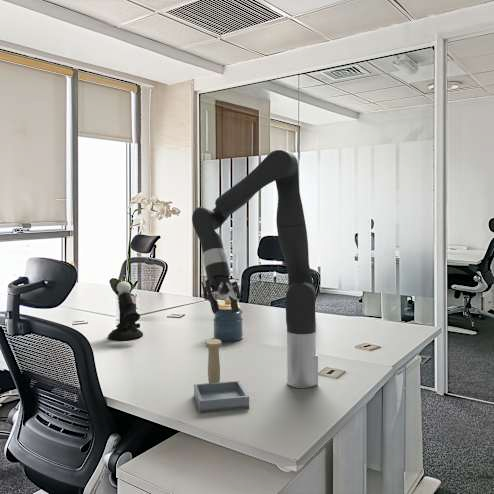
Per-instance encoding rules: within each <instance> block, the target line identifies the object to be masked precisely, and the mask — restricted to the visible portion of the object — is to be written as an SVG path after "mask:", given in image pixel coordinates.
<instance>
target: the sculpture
mask: <svg viewBox="0 0 494 494" xmlns="http://www.w3.org/2000/svg"><path fill="white" fill-rule="evenodd" d="M131 289H132V285H131V284H130V283H129V282H128V281H126V280H125V281H124V280H123V281H120V282H118V284H117V285H116V291H117V292H118V293H117V294H118V295H117V303H118V310H119V323H118V324H117V325H116V326H115V327H116V328H115V329H113V330H112V331H110V333H108V336H107V338H108V340H110V341H115V342H125V341H135V340H137V339H141V338H143V336H144V332H142V331H141V330H140V329H139V328H140V327H141V323H139V322H138V321H139V320H140V318H141V315H140V313H139V312H137V304H136V303H134V302H133V299H132V292H131ZM136 322H138V323H136Z"/></svg>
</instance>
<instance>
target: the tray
mask: <svg viewBox="0 0 494 494" xmlns="http://www.w3.org/2000/svg"><path fill="white" fill-rule="evenodd" d="M193 397H194V400H195V403H196V405H197V408H198V412H199V414H208V413H217V412H218V413H221V412H228V411H238V410H239V411H240V410H249V409H250V396H249V394H248V392H247V391H246V389H245V388H244V386H243V384H242V382H241V381H240V380H231V381H220V382H216V383H209V382H207V383H195V384H193Z"/></svg>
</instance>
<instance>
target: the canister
mask: <svg viewBox="0 0 494 494" xmlns="http://www.w3.org/2000/svg"><path fill="white" fill-rule="evenodd" d="M230 303H231V302H230V301H229V299H228V298H226V299H225V300H224V302H218V306H219V312H218V313H213V315H214V317H213V339H219V340H221V342H226V343H227V342H236V341H237V342H238V341H241V340H242V339H243V336H244V332H243V326H244V325H243V320H244V319H243V317H242V314H243V313H244V311H243V310H242V309H241V308H242V306H241V305H240V304H238V309H239V310H238V312H237V313H232V309H231V304H230Z"/></svg>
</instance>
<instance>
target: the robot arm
mask: <svg viewBox="0 0 494 494" xmlns="http://www.w3.org/2000/svg"><path fill="white" fill-rule="evenodd" d="M299 176H300V174H299V161H298V159H297V157H296V155H295V154H293V152H291V151H289V150H285V149H280V148H279V149H274V150H272V151H270V153H269V154H268V155H267V156H266V157H265V158H263V160H262V161H261V162H260V163H258V164H257V166H256V167H255V168H254V169H253V170H252V171H251V172H249V173H248V174H247V175H246V176H245V177H243V178H242V179H241V180H240V181H238V182H237V183H236V184H235V185H233V186H231V188H229V189H227V190H226V191H225V192H224V193H222V194H221V195H220V196H218V197H217V198H216V200H215V202H214V204H215V207H214V208H213V209H209V208H208V207H205V206H199V207H196V208H195V209H194V210H193V213H192V214H191V222H192V227H193V228H194V232H195V233H196V235H197V238H198V240H199V242H200V246H201V250H202V257H203V264H204V270H205V274H206V280H204V281H202V282H201V286H202V287H201V288H202V292H203V293H202V294H203V299H204V300H205V301H208V302H209V303H210V307H211V311H212V314H214V313H218V312H219V306H218V304H219V302H218V300H217V298H218V296H224V297H225V298H226V299H229V301H230V302H231V303H230V304H231V309H232V313H237V312H238V310H239V309H238V305H239V304H238V300H241V298H242V295H241V292H240V288H239V284H238V282H237V281H233V282H232V281H230V276H231V274H230V269H229V268H230V267H229V262H228V259H227V255H226V252H225V249H224V244H223V241H222V237H221V235H220V234H219V233H218V232H216V230H217V229H219V228H221V226H222V225H223V224H225V222H226V221H227V220H228V219H229V217H230V216H231V215H232V214H234V213H235V212H236V211H239V209H241V208H243V206H245V205H246V204H247V203H248V202H250V200H251V199H252V198H253V197H254V196H255V195H256V194H257V193H258V192H259V191H260V190H261V189H264V188H265V187H267V185H270V184H271V183H273V182H275V186H276V189H277V208H276V209H277V210H276V222H275V223H276V229H277V230H276V231H277V236H278V237H277V238H278V243H279V247H280V250H281V253H282V255H283V259H284V262H285V265H286V269H287V270H286V271H287V280H288V281H287V282H288V285H287V286H288V288H287V290H286V295H285V322H286V372H287V373H286V375H287V376H286V384H287V385H288V386H290V387H292V388H296V389H298V388H299V389H308V388H313V387H315V386H319V356H318V354H317V351H316V349H317V338H316V337H317V333H316V332H317V330H316V329H317V323H316V298H317V291H316V287H315V284H314V281H313V276H312V272H311V268H310V259H309V258H310V257H309V255H310V254H309V240H308V231H307V225H306V219H305V214H304V213H305V212H304V207H303V203H302V198H301V194H300V193H301V192H300V177H299Z"/></svg>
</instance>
